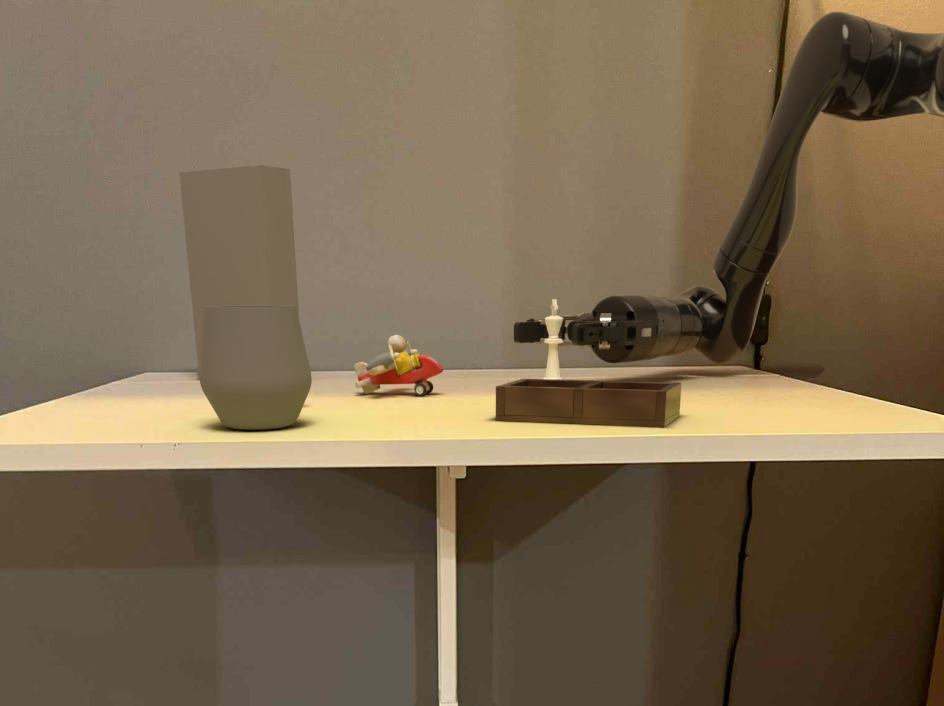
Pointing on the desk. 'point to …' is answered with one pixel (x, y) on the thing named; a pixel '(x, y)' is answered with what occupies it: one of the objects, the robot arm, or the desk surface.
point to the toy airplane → (398, 368)
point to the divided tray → (589, 402)
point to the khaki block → (238, 239)
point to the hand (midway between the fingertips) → (544, 333)
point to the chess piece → (553, 342)
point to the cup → (254, 365)
